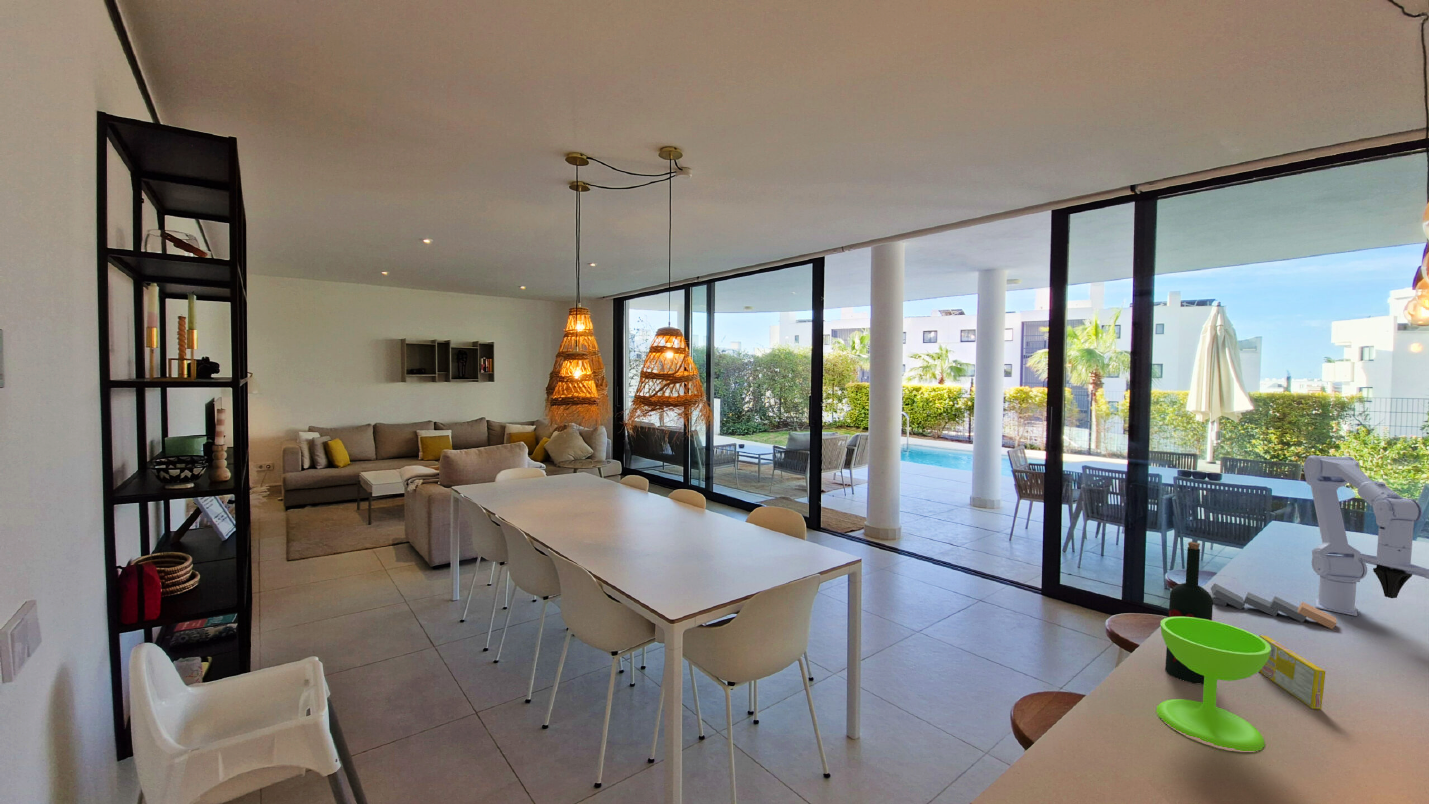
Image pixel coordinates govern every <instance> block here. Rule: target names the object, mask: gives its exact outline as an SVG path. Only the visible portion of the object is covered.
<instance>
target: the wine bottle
mask: <svg viewBox="0 0 1429 804" xmlns="http://www.w3.org/2000/svg"><path fill="white" fill-rule="evenodd" d="M1200 545H1201V543H1200V542H1195V541H1189V542H1188V546H1187V549H1186V550H1187V551H1186V570H1185V582H1183V583H1178V584H1176V585H1175V586H1173V587H1172V588H1171V589H1170V593H1169V601H1168V602H1169V606H1168V617H1180V616H1181V617H1194V618H1201V619H1207V620H1212V621H1213V608H1214V606H1213V605H1214V603H1213V599H1212V597H1211V595H1210V594H1209V593H1208V592H1209V591H1208V590H1206V589H1205V588H1203V586H1200V585H1199V577H1200V575H1199V573H1200V558H1201V557H1200V556H1201V549H1200ZM1165 655H1166V656H1165V669H1164V671H1165V672H1166V673H1167V675H1169V676H1171V677H1173V678H1176V679H1177V678H1178V680H1180V679H1181V680H1180V681H1183V680H1184V681H1183V682H1186V681H1187V683H1190V682H1191V684H1196V683H1201V684H1200V685H1204V676H1203V675H1201V674H1198V673H1196V672H1194V671H1192V670H1190V669H1189V668H1188V667H1186V666H1185V665H1184V664H1182V663H1181V662H1180V661H1179V660H1177V659H1176V658H1175V656H1174V655H1173V654H1172V652H1171V651H1170V650H1169V649H1168V647H1167V646H1166V653H1165Z"/></svg>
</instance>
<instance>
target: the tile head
mask: <svg viewBox="0 0 1429 804" xmlns="http://www.w3.org/2000/svg"><path fill="white" fill-rule="evenodd" d="M1297 607H1298V613H1300V614H1302V615H1304V616H1306V618H1308V619H1310V620H1312V621H1314V622H1316V623H1318V624H1320V625H1322V626H1324V627H1327V628H1329V629H1331V630H1333V629H1334V628H1335V627H1336V625H1337V617H1335V616H1334V615H1331V614H1330V613H1327V612H1325V611H1323V610H1322V609H1320V608H1316V606H1313V605H1311V604H1308V603H1306V602H1304V601H1302V602H1301V603H1300V605H1299V606H1297Z"/></svg>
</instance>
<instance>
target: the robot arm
mask: <svg viewBox="0 0 1429 804" xmlns="http://www.w3.org/2000/svg"><path fill="white" fill-rule="evenodd" d="M1302 467H1303V473H1304V479H1305V483H1306V484H1307V485H1308V486H1310V489H1311V494H1312V499H1313V503H1314V507H1315V508H1314V509H1315V513H1316V518H1317V523H1318V528H1319V533H1320V536H1321V542H1322V543H1321V544H1319V545H1318V546H1316V547H1315V548H1313V549H1312V550H1311V553H1312V555H1311V556H1312V557H1311V567H1312V569H1313V571H1314V572H1315V574H1316V575H1318V576H1319V581H1318V583H1319V585H1318V597H1316V598H1315V608H1317V609H1319V610H1326V611H1329V612H1335V613H1339V614H1344V615H1348V616H1355V617H1356V616H1357V617H1358V613H1357V606H1356V594H1357V583H1360V582H1361V580H1363V579H1364V578H1365V577H1366V576H1367V574H1368V567H1367V564H1369V565H1374V566H1375V567H1373V569H1372V570H1373V571H1372V572H1373V573H1374V574H1375V575H1376V577H1377V578H1378V581H1379V582H1380V585H1381V588H1382V591H1383V596H1384V597H1385V598H1390V599H1397V598H1398V595H1399V593H1400V591H1401V589H1402V588H1403V586H1404V585H1405V583H1406V582H1407V581H1408V580H1409V579H1411V578H1412V576H1418V577H1422V578H1424V579H1425V580H1426V579H1427V580H1429V569H1428V568H1426V567H1422V566H1419V565H1416V564H1412V562H1411V561H1412V551H1413V550H1412V549H1413V539H1414V538H1413V537H1414V525H1415V523H1416V522H1418V521H1420V520H1421V518H1422V516H1423V509H1422V506H1421V504H1420V503H1419V502H1418V501H1417V500H1416V499H1415V498H1414V499H1413V498H1406V497H1402V496H1400V495H1399V494H1398V493H1397V492H1395V491H1394V490H1393V489H1391V488H1390V487H1389V486H1387V484H1386V483H1385V482H1383V481H1379V480H1372V479H1370V477H1368V475H1367V474H1365V472H1363V471H1362V470H1361V469H1360V468H1361V467H1360V462H1359V461H1357V460H1356V459H1355V458H1354V457H1352V456H1328V455H1327V456H1324V455H1314V454H1313V455H1309V456H1307V458H1305V460H1304V463H1303V466H1302ZM1347 484H1350V485H1352V486H1353V487H1354V488H1355V489H1357V495H1358V496H1359V497H1360V498H1361V499H1363V500H1364V502H1366V503H1367V504H1369V505H1370V506H1371V507H1372V508H1373V509H1372V510H1373V513H1374V514H1373V515H1374V516H1375V522H1376V525H1377V526H1378V533H1377V535H1378V536H1377V545H1376V546H1377V548H1376V556H1375V555H1370V554H1365V553H1362V552H1361V551H1359V550H1358V549H1356V548H1355V547H1353V546H1351V545H1350V544H1349V542H1348V537H1347V533H1346V528H1345V524H1344V518H1343V514H1342V509H1341V506H1340V501H1339V496H1338V489H1340V488H1342V487H1345V486H1346V485H1347Z"/></svg>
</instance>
